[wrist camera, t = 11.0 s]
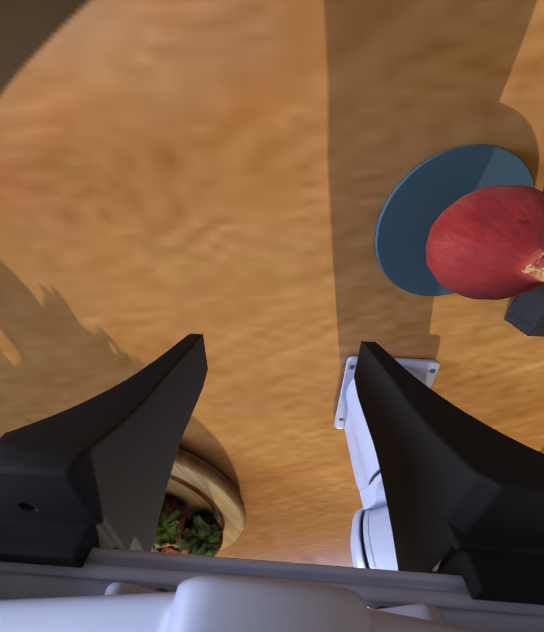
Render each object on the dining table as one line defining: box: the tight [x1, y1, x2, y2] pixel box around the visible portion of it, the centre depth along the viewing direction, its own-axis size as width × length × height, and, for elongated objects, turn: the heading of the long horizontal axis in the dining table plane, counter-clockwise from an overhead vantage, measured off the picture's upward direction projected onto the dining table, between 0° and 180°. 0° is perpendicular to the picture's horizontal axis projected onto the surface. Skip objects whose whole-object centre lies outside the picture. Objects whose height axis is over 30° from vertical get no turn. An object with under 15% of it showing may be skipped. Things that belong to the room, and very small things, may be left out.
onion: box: [426, 185, 544, 300], centre depth 14 cm, size 6×6×8 cm
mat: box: [375, 144, 535, 296], centre depth 17 cm, size 10×10×1 cm
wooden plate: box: [151, 448, 246, 557], centre depth 35 cm, size 32×32×8 cm
